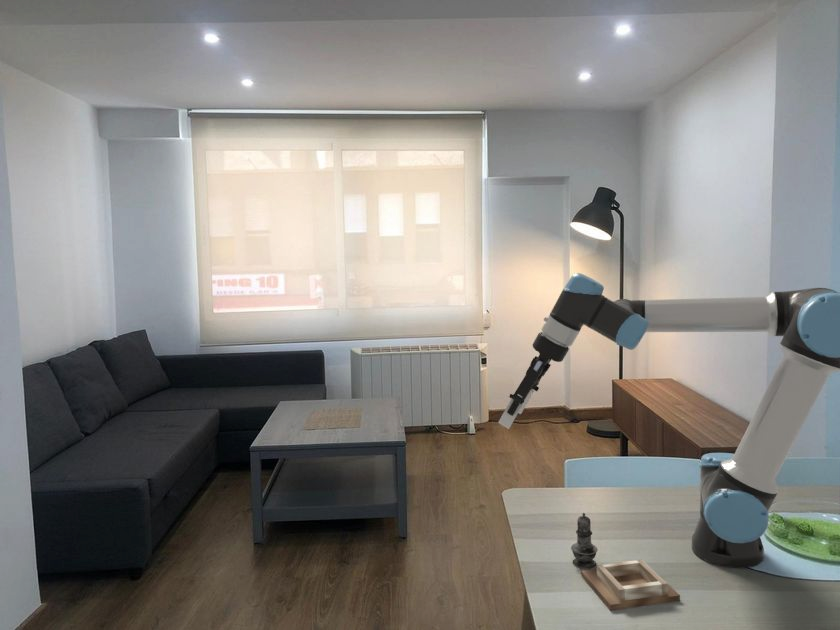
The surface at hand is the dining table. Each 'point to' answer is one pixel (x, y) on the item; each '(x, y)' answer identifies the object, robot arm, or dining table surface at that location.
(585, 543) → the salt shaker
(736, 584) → the dining table surface
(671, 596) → the caddy
